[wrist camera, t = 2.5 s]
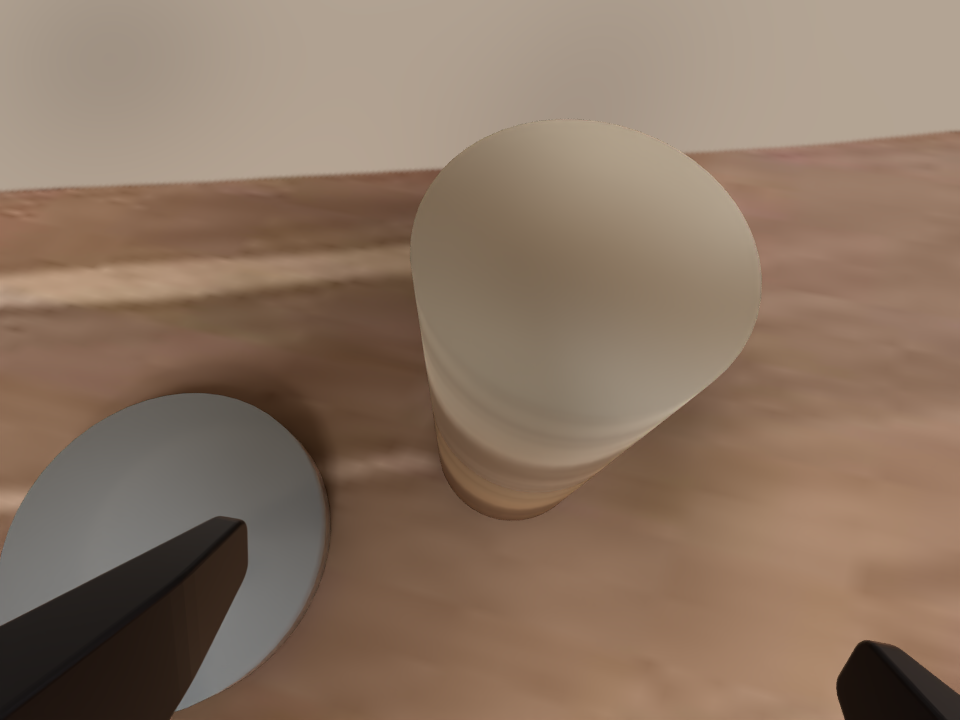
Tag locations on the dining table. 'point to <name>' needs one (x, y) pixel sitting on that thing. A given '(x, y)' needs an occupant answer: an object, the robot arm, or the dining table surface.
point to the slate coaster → (178, 517)
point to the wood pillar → (571, 303)
